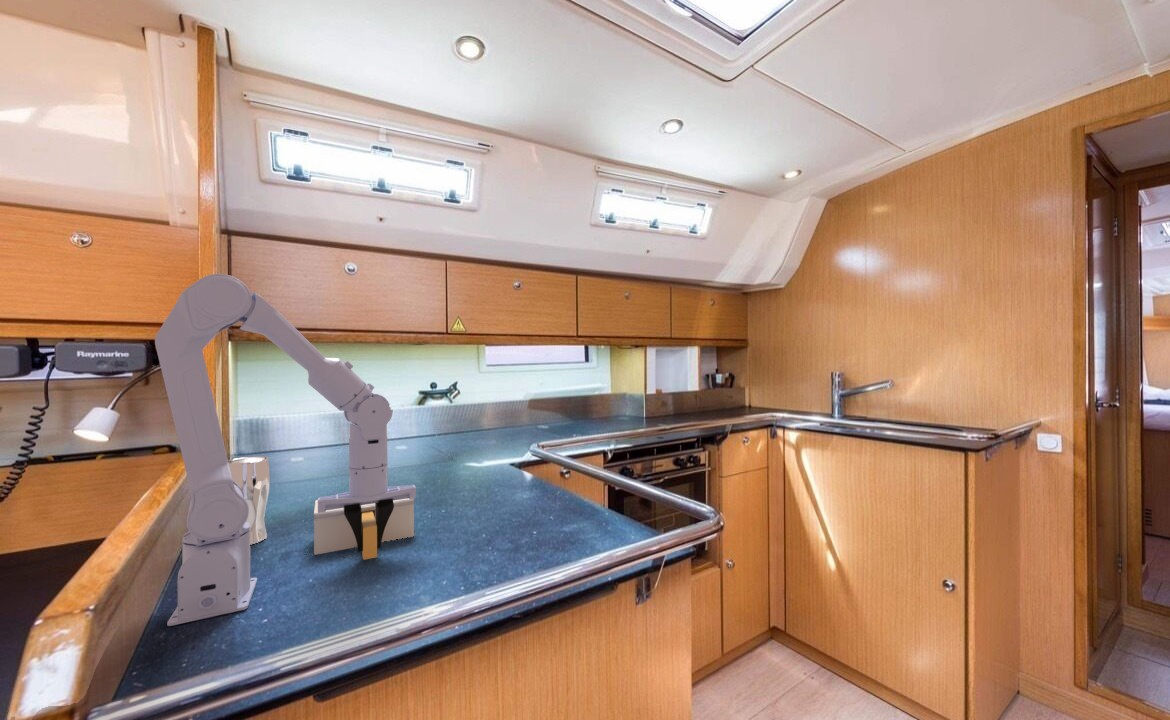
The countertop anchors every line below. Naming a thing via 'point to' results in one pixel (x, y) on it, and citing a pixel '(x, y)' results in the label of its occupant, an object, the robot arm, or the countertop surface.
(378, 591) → the countertop surface
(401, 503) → the dispenser
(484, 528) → the countertop surface
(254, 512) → the beer glass
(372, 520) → the tab
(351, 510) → the robot arm
